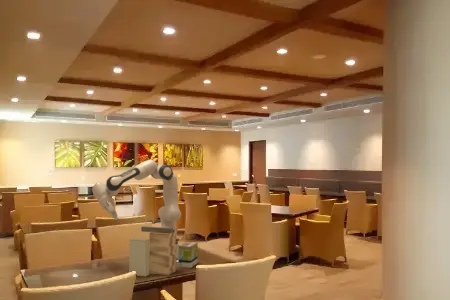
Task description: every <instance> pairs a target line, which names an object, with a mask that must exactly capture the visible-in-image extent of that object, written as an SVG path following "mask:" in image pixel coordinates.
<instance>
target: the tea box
mask: <svg viewBox="0 0 450 300" xmlns="http://www.w3.org/2000/svg"><path fill="white" fill-rule="evenodd" d="M179 245H180V246H179V257H178V259H177V260H178V265H177V266H178V268H184V269H185V268H187V269H189V268H190V269H192V268H193V267H194V266H195V265H196V264H198V245H199V244H198V242H184V243H181V244H179Z"/></svg>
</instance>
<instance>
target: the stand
mask: <svg viewBox="0 0 450 300" xmlns="http://www.w3.org/2000/svg"><path fill="white" fill-rule="evenodd" d="M148 234H149V236H148V237H149V239H148V240H149V274H154V275H165V276H170V275H171V274H173V273H175V272H177V270H176V269H177V259H176V232H175V230H173V233H170V231H160V230H151V232H148Z"/></svg>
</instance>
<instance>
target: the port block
mask: <svg viewBox="0 0 450 300" xmlns="http://www.w3.org/2000/svg"><path fill="white" fill-rule="evenodd" d="M128 243H129V244H128V245H129V247H128V248H129V250H128V251H129V261H128V263H129V267H128V268H129V269H128V270H129V271H128V272H132V271H136V273H137V276H139V277H147V276H149V275H150V273H149V239H144V238H130V239H129V241H128Z"/></svg>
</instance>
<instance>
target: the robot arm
mask: <svg viewBox="0 0 450 300" xmlns="http://www.w3.org/2000/svg"><path fill="white" fill-rule="evenodd" d="M149 176H151V177H152V178H153V179H155V180H162V183H163V185H162V190H163V191H162V200H163V202H164V206H161V207H160V208H159V209H158V212H157V214H158V217H159V219H160V224H161V227H166V228H173V230H175V232H176V260H178V257H179V246H180V245H181V244H179V242H180V238H179V237H178V236H177V235H178V231H177V228H178V227H177V226H176V224H175V222H178V221H179V220H180V219H181V217H182V212H181V210H180V207H179V201H178V190H179V189H178V186H179V185H178V178H177V176H176V174H174V172H173V168H172V167H171V165H168V164H157V163H156V161H155V160H153V159H147V160H145V161H142V162H141V163H139V164H137V165H135V166H134V167H132V168H131V169H128V170H126V171H124V172H122V173H120V174H117V175H111V176H109V177H108V178H107V180H106V182H103V181H97V182H96V183H95V184H94V185H93V186H92V188H91V191H92V193H93V196H94V197H95V199H96V200H97V201H98V204H99V206H100V207H101V208H102V210H105V211H106V212H108V214H109V215H110V216H111V218H112V219H114V220H115V221H116V223H119V222H120V219H119V216H118V213H117V211H116V209H115V201H114V199H113V197H115V196H117V195H118V194H119V193H120V190H121V187H122V185H124V184H125V183H126V182H128V181H130V180H132V179H134V180H136V181H141V180H143V179H146V178H147V177H149Z"/></svg>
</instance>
